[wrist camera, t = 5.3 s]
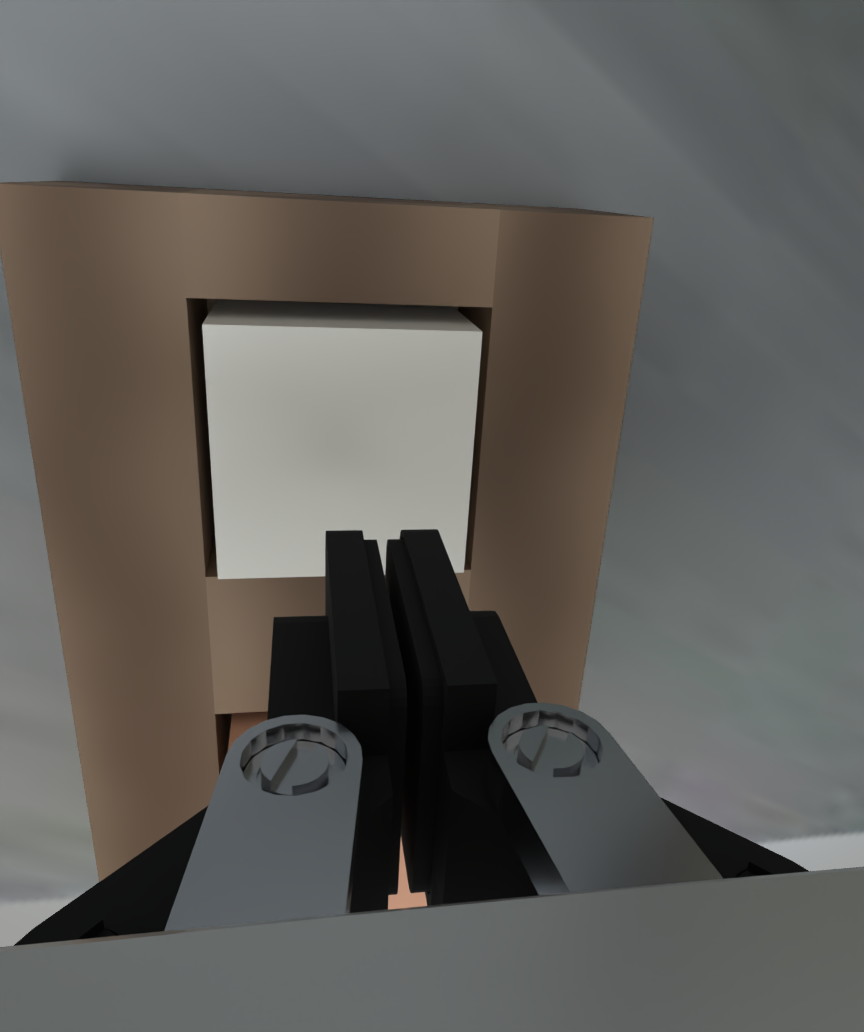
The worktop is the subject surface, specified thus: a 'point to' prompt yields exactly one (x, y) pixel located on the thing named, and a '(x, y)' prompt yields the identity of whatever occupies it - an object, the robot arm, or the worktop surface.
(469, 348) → the offwhite key
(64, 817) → the worktop surface
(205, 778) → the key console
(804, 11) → the worktop surface
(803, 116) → the worktop surface
